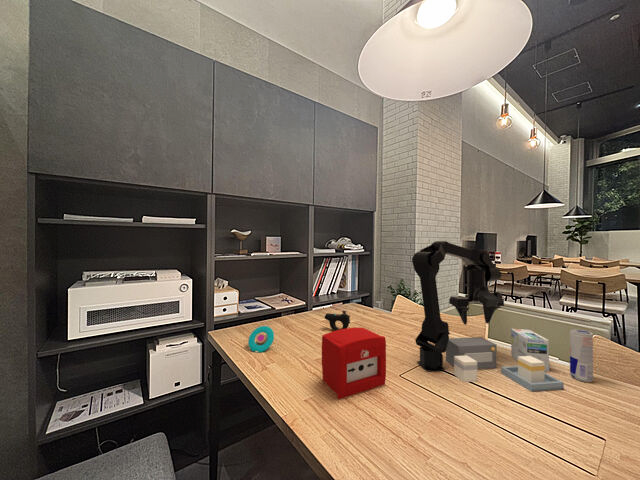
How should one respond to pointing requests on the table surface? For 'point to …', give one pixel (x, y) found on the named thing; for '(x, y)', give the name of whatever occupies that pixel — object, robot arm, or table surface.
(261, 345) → the ornament
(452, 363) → the block
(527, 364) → the cream taped block
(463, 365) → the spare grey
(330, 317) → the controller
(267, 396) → the table surface
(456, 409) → the table surface
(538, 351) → the light bulb box
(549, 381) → the tray
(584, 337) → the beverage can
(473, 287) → the robot arm
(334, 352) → the fire alarm
